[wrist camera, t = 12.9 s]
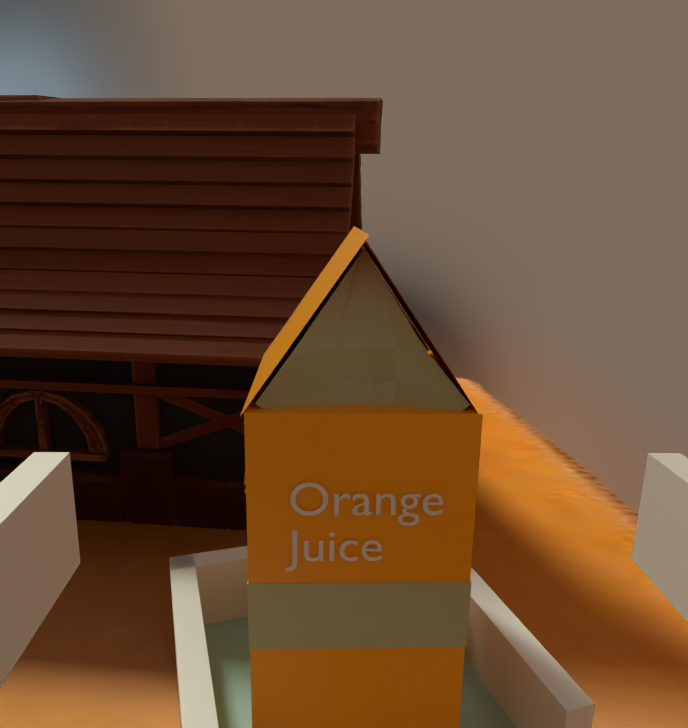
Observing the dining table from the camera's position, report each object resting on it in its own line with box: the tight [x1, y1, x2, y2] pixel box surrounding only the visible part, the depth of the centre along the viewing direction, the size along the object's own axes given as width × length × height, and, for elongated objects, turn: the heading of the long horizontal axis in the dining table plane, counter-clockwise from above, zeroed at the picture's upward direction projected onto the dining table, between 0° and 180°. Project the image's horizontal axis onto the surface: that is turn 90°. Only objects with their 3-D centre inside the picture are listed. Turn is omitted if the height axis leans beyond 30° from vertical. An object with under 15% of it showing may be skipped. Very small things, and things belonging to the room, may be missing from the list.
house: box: [0, 95, 383, 530], centre depth 48 cm, size 35×28×29 cm
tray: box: [169, 546, 595, 728], centre depth 27 cm, size 14×14×4 cm
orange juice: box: [240, 226, 484, 728], centre depth 24 cm, size 8×9×20 cm
